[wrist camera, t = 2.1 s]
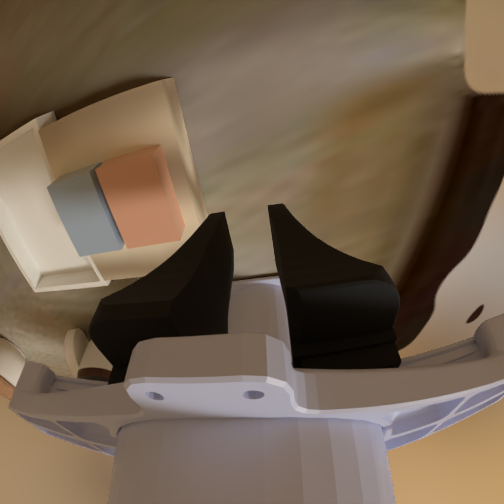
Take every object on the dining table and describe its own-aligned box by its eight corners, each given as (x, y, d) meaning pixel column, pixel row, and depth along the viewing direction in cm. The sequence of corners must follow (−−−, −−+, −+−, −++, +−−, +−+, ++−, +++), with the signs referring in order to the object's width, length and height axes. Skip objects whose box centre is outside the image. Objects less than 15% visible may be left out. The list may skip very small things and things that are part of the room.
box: (117, 268, 26) (108, 285, 24) (44, 277, 27) (35, 292, 25) (54, 110, 17) (35, 118, 15) (-15, 153, 17) (-31, 164, 15)
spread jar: (174, 360, 36) (162, 441, 26) (118, 370, 38) (101, 437, 29) (114, 303, 29) (80, 395, 20) (62, 322, 32) (31, 394, 22)
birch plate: (216, 245, 24) (212, 268, 22) (115, 259, 25) (104, 280, 23) (173, 77, 16) (161, 79, 14) (59, 120, 17) (38, 130, 15)
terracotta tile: (185, 226, 20) (180, 240, 18) (135, 234, 20) (127, 248, 19) (161, 144, 16) (152, 153, 15) (107, 159, 17) (95, 169, 15)
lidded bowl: (-7, 347, 40) (-25, 386, 31) (-17, 317, 33) (-41, 363, 25) (38, 375, 44) (23, 417, 35) (35, 351, 38) (14, 402, 29)
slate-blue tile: (129, 235, 20) (121, 249, 19) (89, 242, 21) (79, 256, 19) (101, 161, 17) (88, 171, 15) (59, 176, 17) (46, 187, 16)
